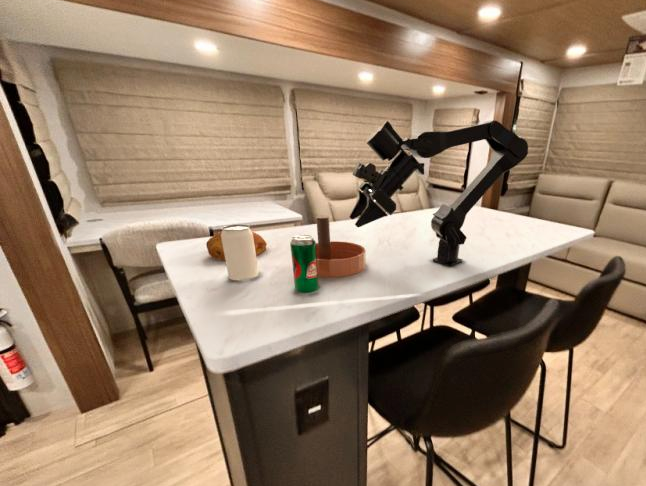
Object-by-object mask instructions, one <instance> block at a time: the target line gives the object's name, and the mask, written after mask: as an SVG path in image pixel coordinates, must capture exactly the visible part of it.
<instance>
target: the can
mask: <svg viewBox="0 0 646 486" xmlns="http://www.w3.org/2000/svg"><path fill="white" fill-rule="evenodd" d="M221 232H222V233H221V239H222V245H223V250H224V255H225V260H224V261H225V264H226V270H227V274H228V278H229V279H230V280H231V281H233V282H238V281H244V280H249V279H253V278H255V277H257V276H259V274H260V271H259V265H258V259H257V255H256V251H255V245H254V239H253V234H252V232H253V231H252V229H251V228H250V225H248V224H228V225H223V226H222V227H221Z"/></svg>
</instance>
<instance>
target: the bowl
mask: <svg viewBox="0 0 646 486" xmlns="http://www.w3.org/2000/svg"><path fill="white" fill-rule="evenodd" d="M330 246H331V260H326V259H319V249H318V242H316V253H317V267H318V278H329V279H333V278H335V279H336V278H345V277H351V276H353V275H356V274H359V273H361V272H363V271H364V270H365V268H366V266H367V265H366V264H367V263H366V249H365V248H366V247H364V246H363V245H361V244H358V243H355V242H349V241H340V240H339V241H338V240H337V241H336V240H335V241H333V240H332V241H330Z"/></svg>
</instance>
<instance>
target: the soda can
mask: <svg viewBox="0 0 646 486" xmlns="http://www.w3.org/2000/svg"><path fill="white" fill-rule="evenodd" d="M316 243H317V242H316V240H315V239H314V236H313V235H309V234H297V235H293V236H292V237H291V241H290V242H289V245H290V255H291V265H292V273H293V283H294V290H295V291H296V292H297V293H301V294H311V293H314V292H317V291H318V290H319V288H320V283H319V277H318V267H317V253H316Z"/></svg>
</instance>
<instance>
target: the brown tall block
mask: <svg viewBox="0 0 646 486" xmlns="http://www.w3.org/2000/svg"><path fill="white" fill-rule="evenodd" d="M315 218H316V231H317V243H318V249H319V259H326V260H331V246H330V242H331V229H330V216H328V215H317V216H316V217H315Z"/></svg>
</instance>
